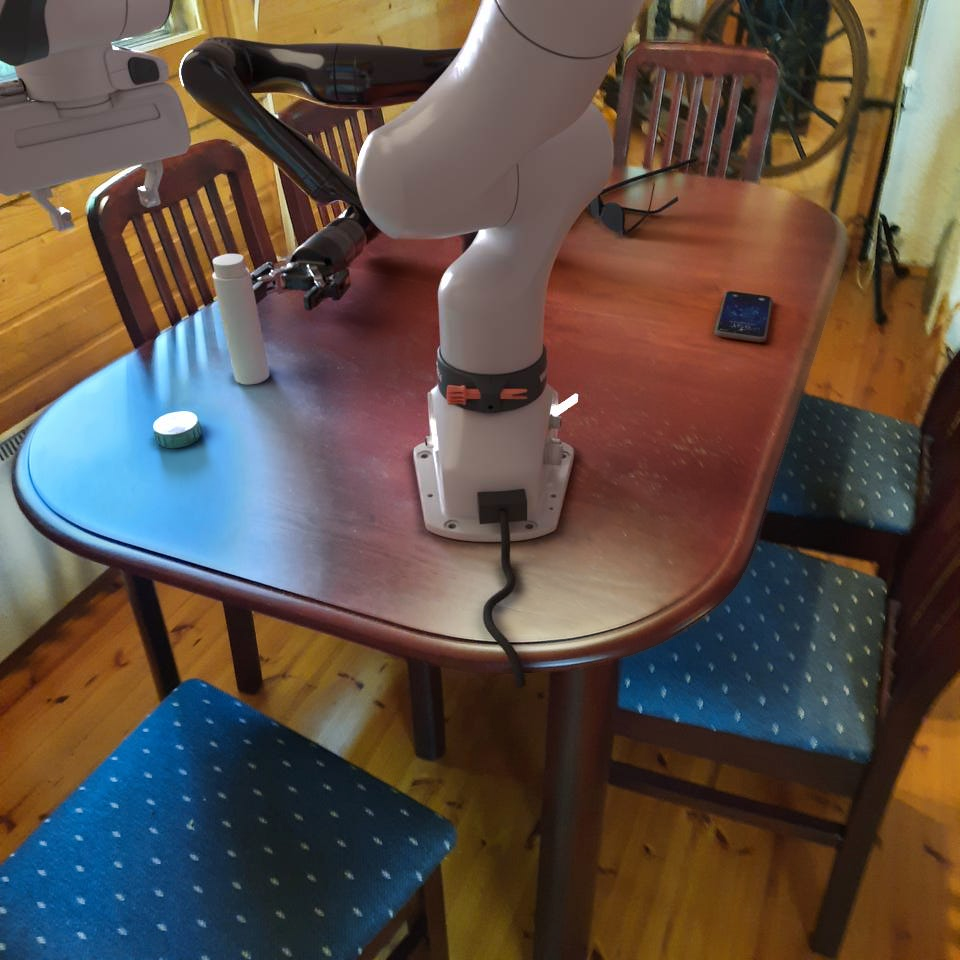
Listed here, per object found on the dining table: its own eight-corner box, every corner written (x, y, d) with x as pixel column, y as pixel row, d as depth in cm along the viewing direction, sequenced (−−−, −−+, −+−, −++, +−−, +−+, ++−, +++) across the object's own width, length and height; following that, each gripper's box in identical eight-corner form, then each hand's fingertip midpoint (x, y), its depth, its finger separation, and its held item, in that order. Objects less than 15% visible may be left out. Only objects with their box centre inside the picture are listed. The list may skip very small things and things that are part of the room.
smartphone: (773, 295, 132) (766, 339, 121) (772, 301, 133) (765, 345, 121) (725, 289, 134) (713, 331, 123) (724, 295, 135) (712, 337, 123)
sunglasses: (688, 228, 158) (691, 201, 155) (616, 238, 155) (618, 210, 152) (648, 199, 171) (651, 174, 168) (581, 208, 168) (582, 182, 165)
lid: (147, 440, 105) (143, 426, 104) (182, 420, 109) (178, 406, 108) (176, 453, 103) (172, 439, 102) (210, 432, 106) (207, 419, 105)
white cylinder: (276, 370, 119) (254, 254, 109) (257, 387, 115) (233, 268, 105) (247, 365, 120) (222, 250, 110) (228, 381, 116) (201, 264, 106)
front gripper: (-36, 96, 73) (19, 253, 81) (181, 58, 84) (211, 199, 92) (-61, 85, 76) (-6, 236, 85) (150, 50, 88) (181, 186, 96)
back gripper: (279, 231, 134) (228, 272, 121) (364, 238, 131) (321, 281, 118) (287, 276, 138) (238, 320, 126) (369, 284, 135) (328, 330, 123)
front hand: (109, 216), depth 88 cm, fingers open, 8 cm apart
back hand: (279, 301), depth 122 cm, fingers open, 8 cm apart
